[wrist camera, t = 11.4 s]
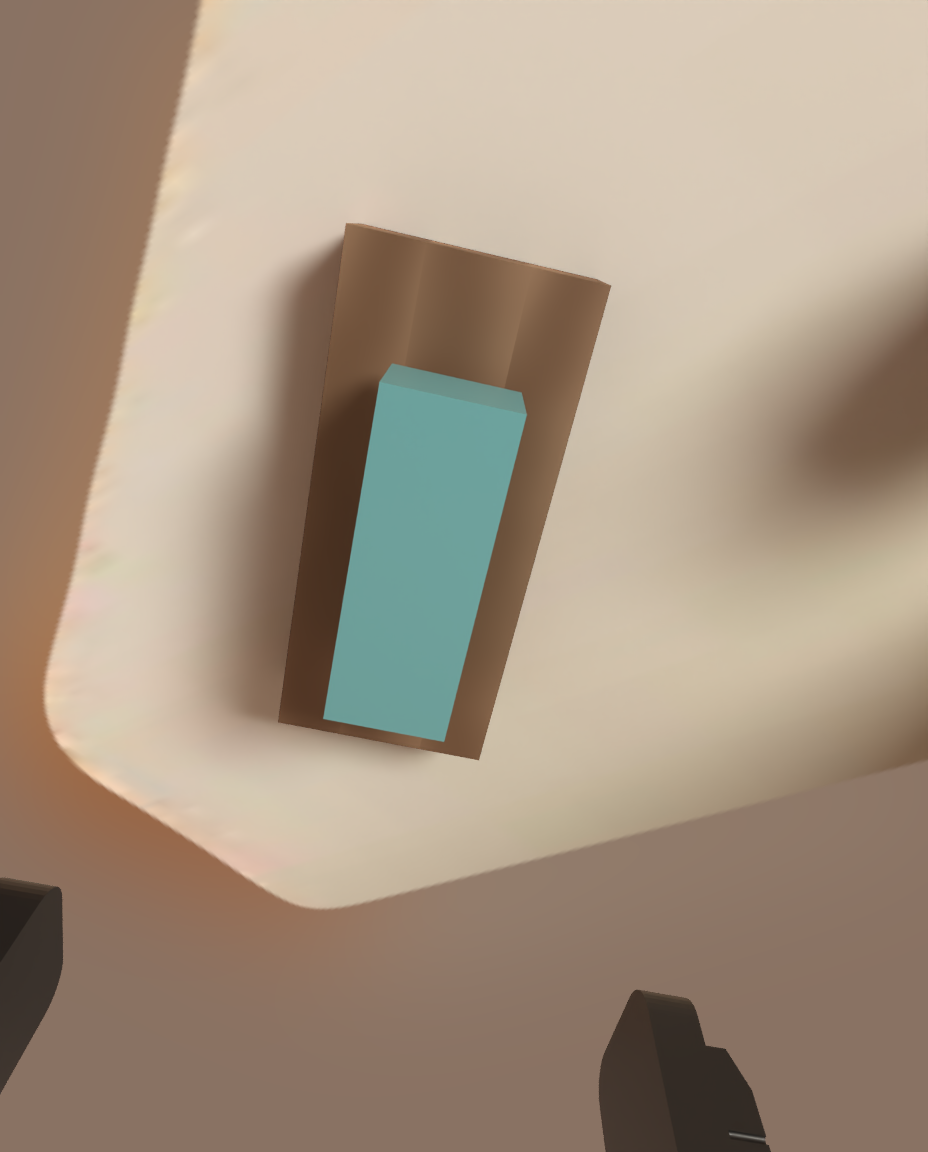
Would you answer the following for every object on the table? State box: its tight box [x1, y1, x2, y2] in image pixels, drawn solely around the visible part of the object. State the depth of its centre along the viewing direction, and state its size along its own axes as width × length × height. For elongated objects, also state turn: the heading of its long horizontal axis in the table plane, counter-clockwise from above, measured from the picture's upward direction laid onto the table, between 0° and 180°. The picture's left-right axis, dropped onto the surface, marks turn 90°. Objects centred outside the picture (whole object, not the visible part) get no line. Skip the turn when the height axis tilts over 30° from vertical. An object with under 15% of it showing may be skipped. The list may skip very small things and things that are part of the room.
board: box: [278, 223, 611, 760], centre depth 27 cm, size 8×18×3 cm, turn 168°
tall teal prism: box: [323, 363, 527, 742], centre depth 26 cm, size 4×11×7 cm, turn 168°
